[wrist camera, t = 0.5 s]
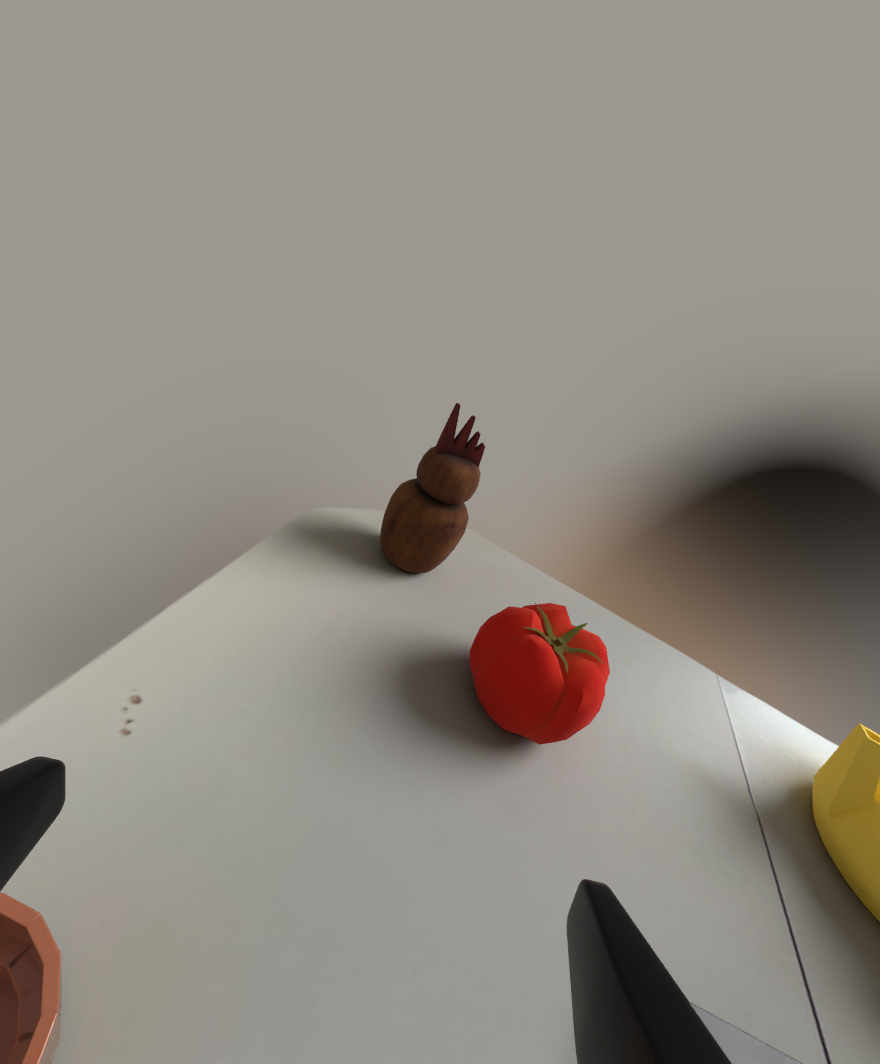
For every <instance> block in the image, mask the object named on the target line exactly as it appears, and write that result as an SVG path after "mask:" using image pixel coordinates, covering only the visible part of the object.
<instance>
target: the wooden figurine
mask: <svg viewBox="0 0 880 1064" xmlns="http://www.w3.org/2000/svg"><path fill="white" fill-rule="evenodd" d="M459 409H460V404H458V403H456V405H455V407H454V409H453V411H452V413H451V415H450V417H449V419H448V421H447V423H446V425H445V428H444V430H443V432H442V434H441V436H440V438H439V441H438V442H437V445H436V446H435V447H432V448H430V449H429V450H428V451H427V452H426V454H425V455H424V456H423V458H422V459H421V461H420V463H419V465H418V468H417V479H412V480H409V481H406V482H404V483H402V484H401V485H400V486H399V487H398V488H397V490H396V491H395V492H394V494H393V495H392V497H391V499H390V502H389V504H388V506H387V509H386V511H385V514H384V518H383V522H382V527H381V534H380V538H381V548H382V551H383V553H384V555H385V556H386V558H387V559H388V560H389V561H390V562H391V563H392V564H394V565H395V566H397V567H398V568H400V569H402V570H405V571H408V572H412V573H425V572H428V571H430V570H432V569H434V568H435V567H437V566H438V565H439V564H440V563H441V562H443V561H444V560H445V559H446V558H447V556H448V555H449V554H450V553H451V552H452V551H453V550H454V548H455V547H456V545H457V544H458V542H459V541H460V539H461V538H462V536H463V534H464V532H465V529H466V525H467V522H468V513H467V508H466V506H465V504H464V502H465V501H467V500H468V499H470V498H471V496H472V495H473V494H474V493H475V491H476V489H477V487H478V483H479V478H480V471H479V464H480V461H481V458H482V455H483V452H484V448H485V446H484V444H483V443H481V444H480V445H478V446H477V443H478V440H479V437H480V433H479V432H476V433H475V434H474V435H473V437H472V438H471V439H470V440H469V441H468V438H469V435H470V432H471V429H472V427H473V424H474V421H475V416H471V417H470V419H469V420H468V422H467V423H466V424H465V426H464V427H463V428H462V430H461V431H460V432H459V434H458V435H457V436H456V438H455V439H454V437H455V431H456V425H457V421H458V415H459ZM467 441H468V442H467ZM476 446H477V447H476Z"/></svg>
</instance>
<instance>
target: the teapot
mask: <svg viewBox="0 0 880 1064" xmlns="http://www.w3.org/2000/svg"><path fill="white" fill-rule="evenodd" d="M812 800H813V815H814V820H815V824H816V826H817V829H818V832H819V834H820V837H821V839H822V841H823V843H824V845H825V847H826V849H827V851H828V853H829V855H830V857H831V858H832V860H833V862H834V863H835V865H836V867H837V868H838V870H839V871H840V873H841V874H842V876H843V877H844V879H845V880H846V881H847V883H848V884H849V886H850V887H851V888H852V890H853V891H854V892H855V894H856V895H857V896H858V897H859V899H860V900H861V901H862V902H863V904H864V905H865V906H866V907H867V908H868V910H869V911H870V912H871V913H872V914H873V915H874V916H875V918H876V919H877V920H878V921H879V922H880V735H879V734H877V733H875V732H873V731H872V730H870V729H868V728H866V727H865V726H863V725H861V724H859V725H857V726H856V727H855V728H854V729H853V731H852V732H851V733H850V734H849V736H848V737H847V738H846V739H845V740H844V742H843V743H842V744H841V745H840V746H839V747H838V749H837V750H836V751H835V752H834V753H833V755H832V756H831V757H830V758H829V759H828V761H827V762H826V763H825V764H824V765H823V766H822V767H821V768H820V769H819V771H818V772H817V774H816V775H815V776H814V785H813V798H812Z"/></svg>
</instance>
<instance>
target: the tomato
mask: <svg viewBox="0 0 880 1064" xmlns="http://www.w3.org/2000/svg"><path fill="white" fill-rule="evenodd" d="M535 604H536V603H535ZM586 624H587V623H586ZM586 624H582V625H579V626H577V627H576V626H573V625H571V622H570V619H569V616H568V613H567V610H566V607H565V606H561V605H556V604H552V603H547V604H538V605H537V604H536V605H529V606H524V607H522V608H518V607H508V608H506V609H504V610H502V611H501V612H499V613H497V614H495V615H493V616H492V617H490V618H489V619H488V620H487V621H486V622H485V623H484V624H483V625H482V626H481V627H480V629H479V631H478V633H477V635H476V637H475V639H474V642H473V644H472V647H471V649H470V655H469V664H470V667H471V671H472V674H473V678H474V683H475V687H476V692H477V697H478V699H479V701H480V702H481V704H482V706H483V707H484V709H485V710H486V712H487V714H488V715H489V717H490V718H491V719H493V720H494V721H495V722H496V723H497V724H498V725H499V726H500V727H501V728H502V729H504V730H506V731H510V732H513V733H516V734H520V735H522V736H524V737H526V738H528V739H530V740H532V741H534V742H536V743H538V744H545V743H552V742H557V741H562V740H566V739H568V738H569V737H571V736H572V735H574V734H575V733H577V732H578V731H580V730H581V729H583V728H584V727H585V726H587V725H588V724H590V723H591V721H592V720H593V719H594V717H595V716H596V715H597V713H598V712H599V710H600V707H601V705H602V702H603V699H604V696H605V684H606V681H607V679H608V676H609V673H610V671H609V664H608V657H607V650H606V646H605V645H604V643H603V642H602V640H601V639H600V638H599V636H597V635H595V634H593V633H590V632H588V631H586V630H584V629H582V628H583V627H584V626H585V625H586Z"/></svg>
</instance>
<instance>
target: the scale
mask: <svg viewBox="0 0 880 1064" xmlns="http://www.w3.org/2000/svg"><path fill="white" fill-rule="evenodd" d="M690 1004H691V1005H692V1007H693V1008H694V1010H695V1011H696V1013H697V1014H698V1015H699V1017H700V1018H701V1020H702V1021H703V1023H704V1024H705V1025H706V1027H707V1028H708V1030H709V1031H710V1033H711V1034H712V1036H713V1037H714V1038H715V1040H716V1041H717V1043H718V1044H719V1046H720V1047H721V1048H722V1050H723V1051H724V1053H725V1054H726V1056H727V1057H728V1059H729V1060H730V1061H731V1063H732V1064H802V1063H800V1062H798V1061H796V1060H795V1059H793V1058H791V1057H789V1056H787V1055H785V1054H784V1053H782V1052H780V1051H778V1050H776V1049H775V1048H773V1047H771V1046H769V1045H767V1044H765V1043H764V1042H762V1041H760V1040H758V1039H756V1038H754V1037H753V1036H751V1035H749V1034H747V1033H745V1032H744V1031H742V1030H740V1029H738V1028H736V1027H734V1026H733V1025H731V1024H729V1023H727V1022H725V1021H723V1020H722V1019H720V1018H718V1017H716V1016H714V1015H712V1014H711V1013H709V1012H707V1011H705V1010H703V1009H702V1008H700V1007H698V1006H696V1005H694V1004H692V1003H691V1002H690Z"/></svg>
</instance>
